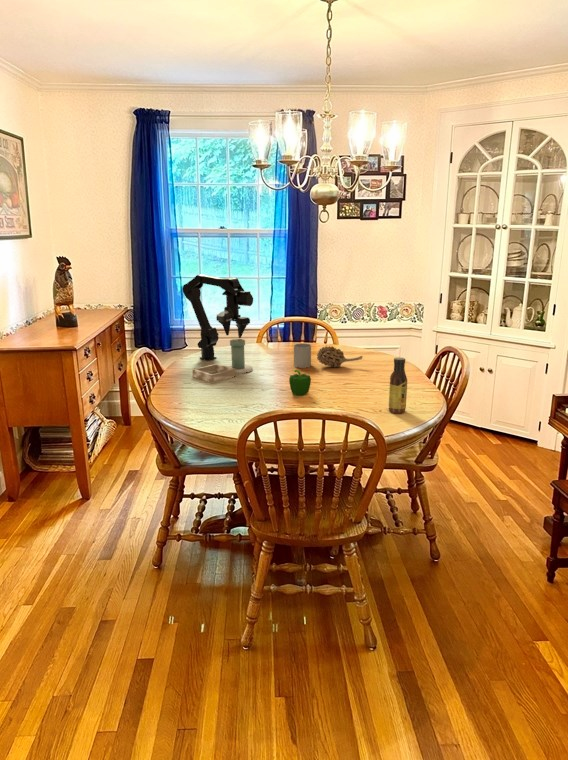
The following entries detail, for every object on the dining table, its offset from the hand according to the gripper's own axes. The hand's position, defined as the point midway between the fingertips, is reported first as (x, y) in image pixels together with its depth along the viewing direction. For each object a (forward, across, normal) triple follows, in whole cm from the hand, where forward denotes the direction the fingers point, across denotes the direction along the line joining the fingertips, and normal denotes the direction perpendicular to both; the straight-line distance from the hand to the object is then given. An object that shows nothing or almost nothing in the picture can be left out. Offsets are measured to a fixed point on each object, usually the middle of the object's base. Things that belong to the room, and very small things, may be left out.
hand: (233, 336), depth 274 cm
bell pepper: (+13, +59, -16) cm, 62 cm away
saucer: (+13, +13, -8) cm, 20 cm away
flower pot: (+12, +13, -8) cm, 19 cm away
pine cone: (+13, +44, +28) cm, 54 cm away
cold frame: (+13, +13, -23) cm, 29 cm away
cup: (+13, +29, +18) cm, 37 cm away
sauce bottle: (+13, +99, -7) cm, 100 cm away
